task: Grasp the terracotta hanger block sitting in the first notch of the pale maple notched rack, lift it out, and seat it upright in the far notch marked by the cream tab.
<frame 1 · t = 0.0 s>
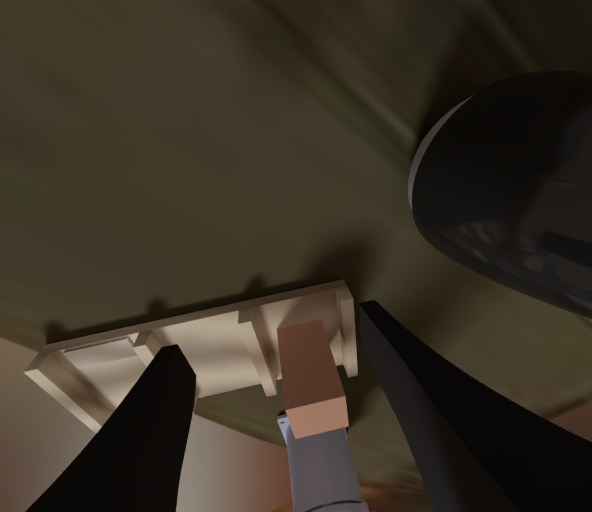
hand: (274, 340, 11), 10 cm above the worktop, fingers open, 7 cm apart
notched rack: (216, 350, 25), on the worktop
dark grey dome: (452, 162, 19), on the worktop
hanger block: (302, 339, 24), point 1 cm above the worktop, touching notched rack
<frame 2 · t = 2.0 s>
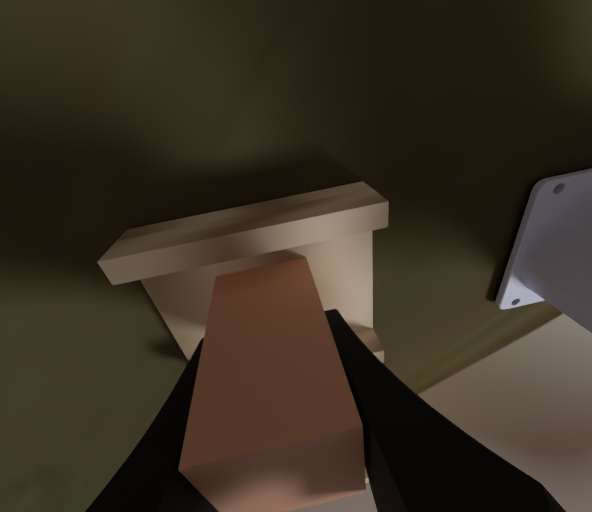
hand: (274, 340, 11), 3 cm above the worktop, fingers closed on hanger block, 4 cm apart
notched rack: (294, 379, 18), on the worktop
hanger block: (270, 300, 13), point 1 cm above the worktop, touching gripper, notched rack
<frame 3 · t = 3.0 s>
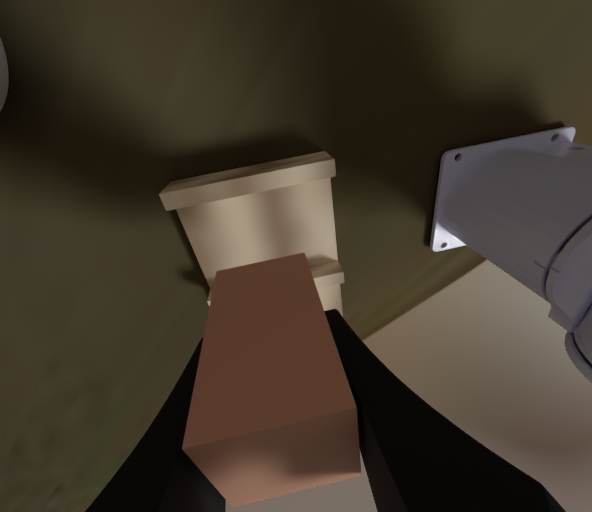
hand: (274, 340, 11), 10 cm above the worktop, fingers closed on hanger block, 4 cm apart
notched rack: (283, 308, 24), on the worktop
hanger block: (270, 295, 13), point 8 cm above the worktop, touching gripper
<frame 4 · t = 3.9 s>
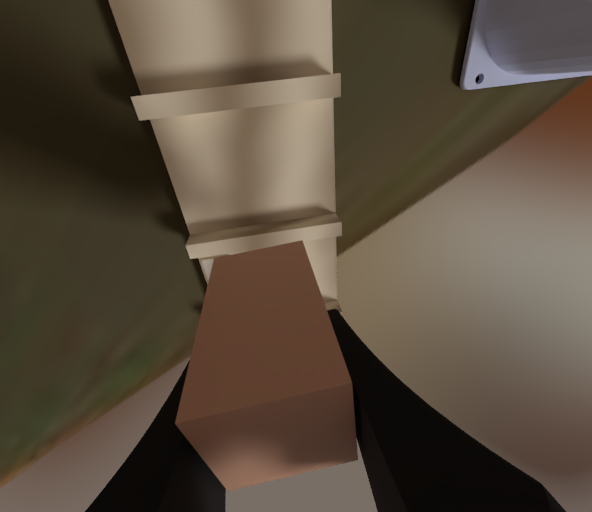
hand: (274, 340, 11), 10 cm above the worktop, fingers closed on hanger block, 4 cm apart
notched rack: (254, 168, 17), on the worktop
hanger block: (267, 284, 13), point 7 cm above the worktop, touching gripper
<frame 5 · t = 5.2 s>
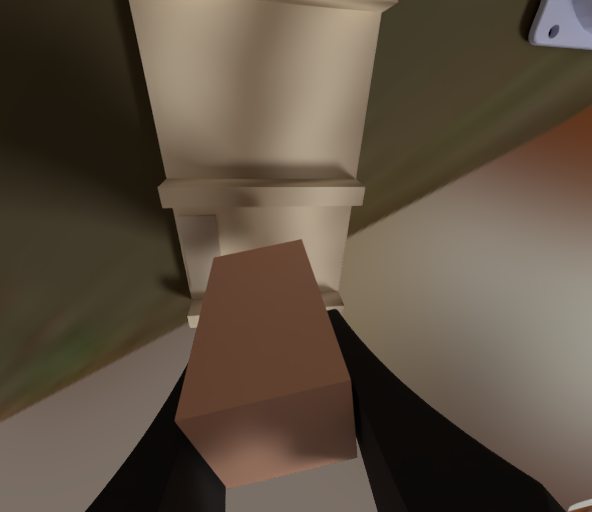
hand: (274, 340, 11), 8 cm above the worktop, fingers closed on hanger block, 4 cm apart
notched rack: (263, 102, 13), on the worktop
hanger block: (267, 283, 13), point 5 cm above the worktop, touching gripper
when the fingers open (4 cm above the worktop, at t = 6.2 s): hanger block stays where it is, resting on notched rack.
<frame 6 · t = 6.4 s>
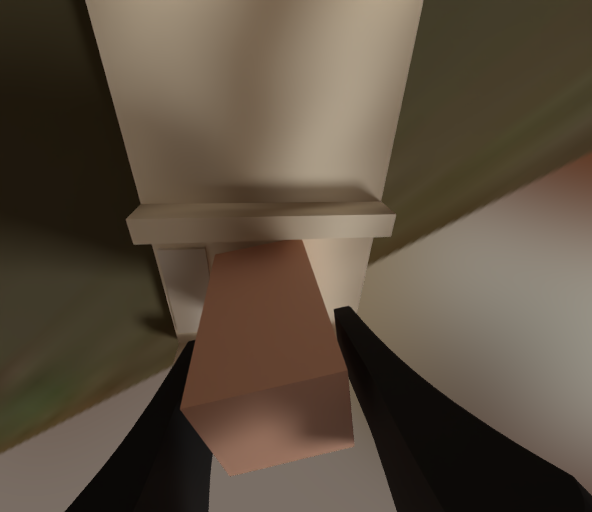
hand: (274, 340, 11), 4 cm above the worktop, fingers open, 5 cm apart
notched rack: (265, 106, 10), on the worktop
hanger block: (267, 279, 13), point 1 cm above the worktop, touching notched rack
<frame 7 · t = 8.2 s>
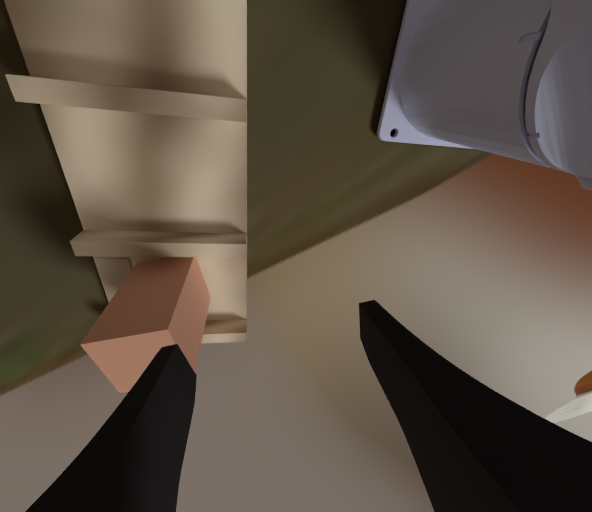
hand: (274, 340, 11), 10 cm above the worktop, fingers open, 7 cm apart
notched rack: (164, 173, 16), on the worktop
hanger block: (175, 281, 19), point 1 cm above the worktop, touching notched rack
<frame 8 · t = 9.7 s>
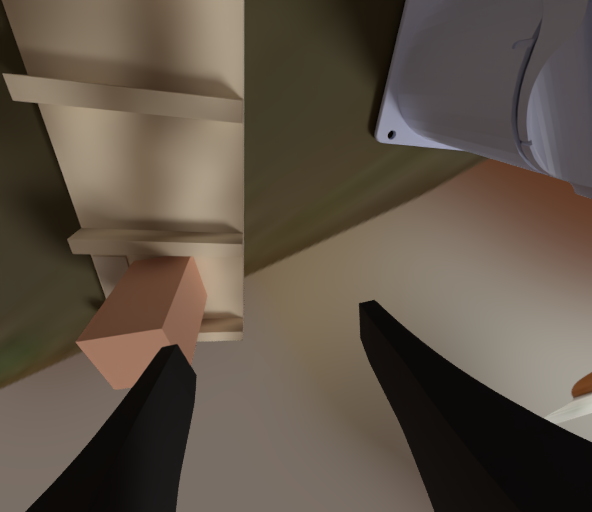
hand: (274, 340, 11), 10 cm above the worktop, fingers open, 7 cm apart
notched rack: (162, 173, 17), on the worktop
hanger block: (172, 279, 20), point 1 cm above the worktop, touching notched rack
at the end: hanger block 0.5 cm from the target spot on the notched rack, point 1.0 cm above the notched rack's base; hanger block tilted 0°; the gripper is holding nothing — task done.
